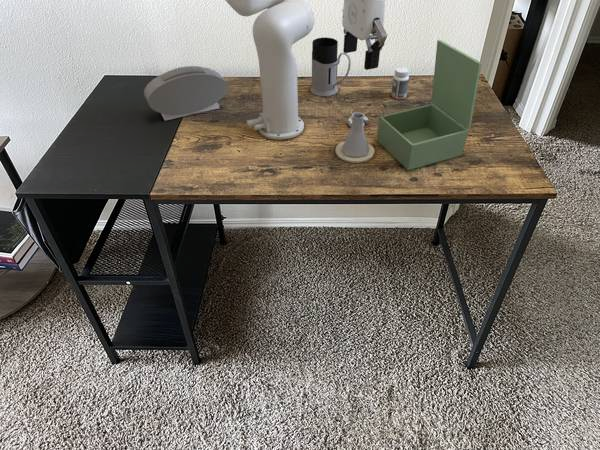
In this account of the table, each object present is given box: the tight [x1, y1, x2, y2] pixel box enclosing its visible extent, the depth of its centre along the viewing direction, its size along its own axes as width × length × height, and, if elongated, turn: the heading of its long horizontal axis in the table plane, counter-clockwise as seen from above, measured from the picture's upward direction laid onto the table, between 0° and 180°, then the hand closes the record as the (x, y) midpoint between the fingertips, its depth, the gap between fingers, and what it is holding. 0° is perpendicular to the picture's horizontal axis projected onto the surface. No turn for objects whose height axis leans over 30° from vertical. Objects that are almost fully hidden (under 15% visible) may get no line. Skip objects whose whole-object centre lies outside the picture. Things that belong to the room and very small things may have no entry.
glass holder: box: [310, 36, 352, 97], centre depth 137 cm, size 9×14×15 cm, turn 46°
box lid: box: [430, 39, 482, 130], centre depth 109 cm, size 17×15×1 cm
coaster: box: [335, 140, 376, 164], centre depth 117 cm, size 10×10×1 cm
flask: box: [342, 111, 369, 157], centre depth 113 cm, size 7×7×10 cm
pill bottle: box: [390, 66, 410, 100], centre depth 137 cm, size 5×5×8 cm
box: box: [376, 103, 469, 171], centre depth 116 cm, size 16×15×7 cm
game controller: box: [339, 109, 369, 129], centre depth 128 cm, size 6×12×3 cm, turn 49°
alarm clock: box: [143, 65, 229, 121], centre depth 131 cm, size 23×6×13 cm, turn 115°
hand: (360, 59), depth 101 cm, fingers open, 9 cm apart
